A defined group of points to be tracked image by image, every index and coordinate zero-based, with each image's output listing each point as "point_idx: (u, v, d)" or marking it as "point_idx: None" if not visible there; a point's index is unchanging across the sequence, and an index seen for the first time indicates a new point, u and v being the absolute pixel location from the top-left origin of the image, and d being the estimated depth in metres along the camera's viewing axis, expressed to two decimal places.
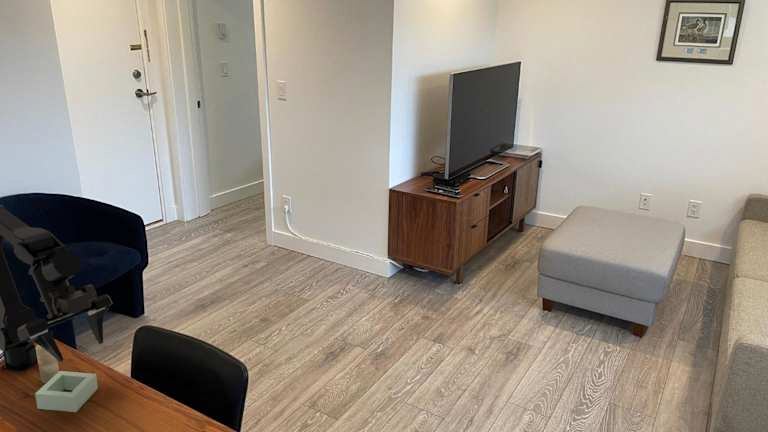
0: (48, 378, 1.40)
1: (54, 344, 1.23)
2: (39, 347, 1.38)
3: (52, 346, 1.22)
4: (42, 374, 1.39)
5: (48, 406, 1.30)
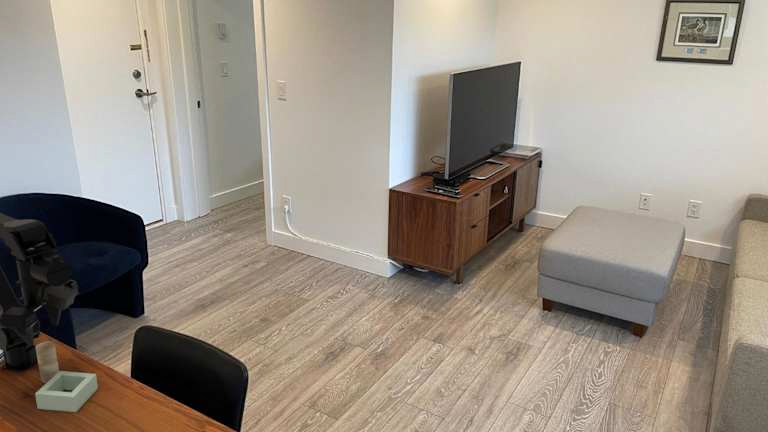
0: (48, 378, 1.40)
1: (31, 331, 1.32)
2: (39, 347, 1.38)
3: (30, 333, 1.32)
4: (42, 374, 1.39)
5: (48, 406, 1.30)
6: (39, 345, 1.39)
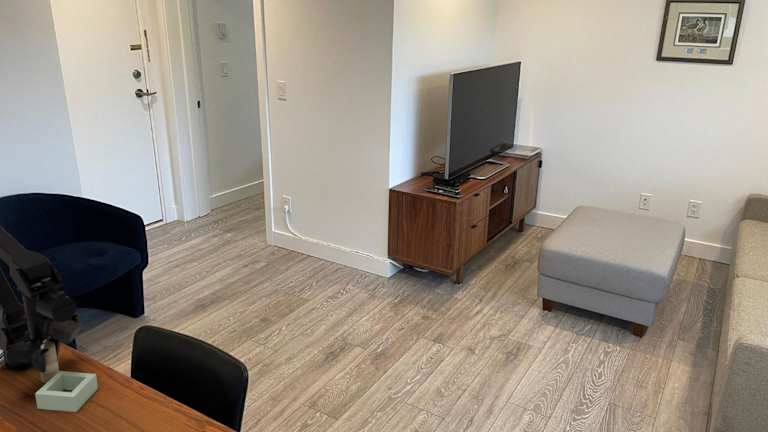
0: (48, 378, 1.40)
1: (44, 359, 1.37)
2: None
3: (42, 361, 1.37)
4: (42, 374, 1.39)
5: (48, 406, 1.30)
6: None
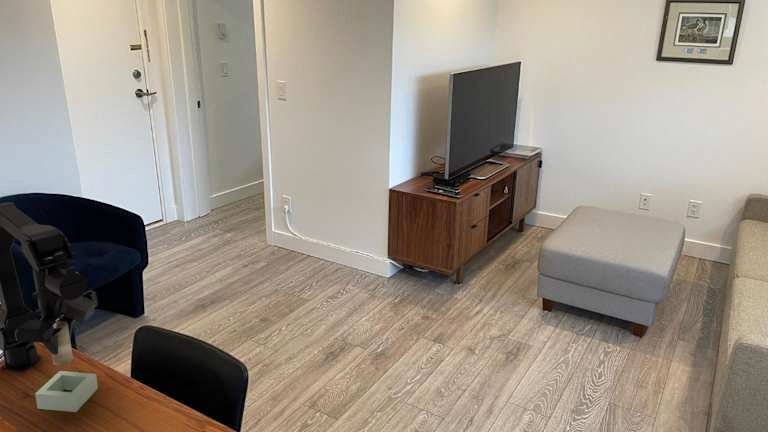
0: (61, 360, 1.30)
1: (56, 340, 1.27)
2: None
3: (55, 342, 1.26)
4: (54, 356, 1.29)
5: (48, 406, 1.30)
6: None
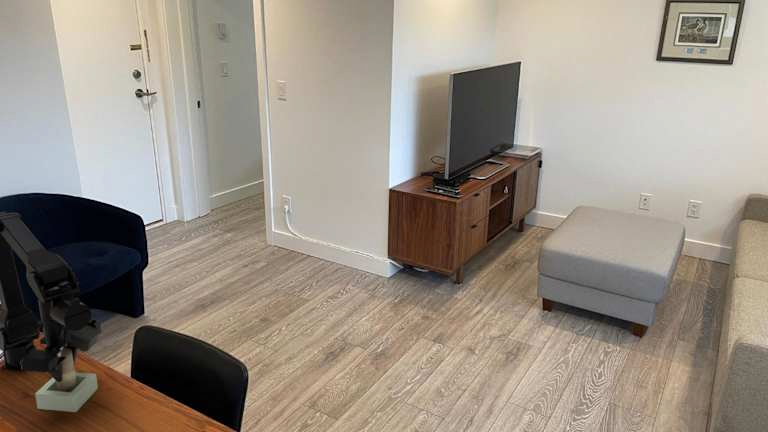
0: (65, 387, 1.32)
1: (60, 368, 1.29)
2: None
3: (59, 370, 1.29)
4: (59, 383, 1.31)
5: (48, 406, 1.30)
6: None
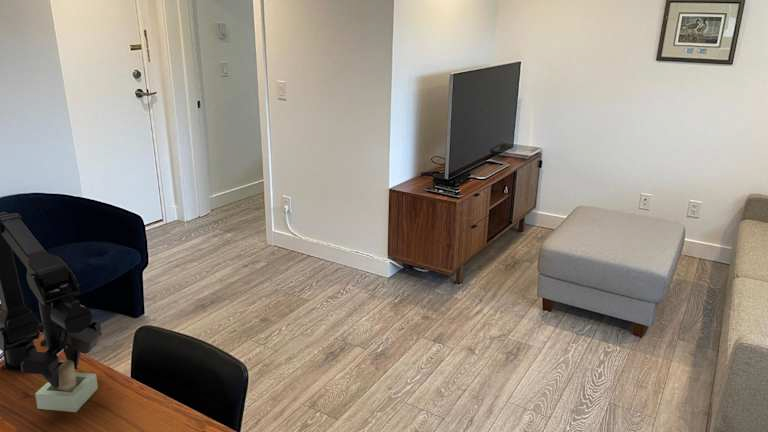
0: None
1: (57, 373, 1.28)
2: None
3: (56, 375, 1.28)
4: None
5: (48, 406, 1.30)
6: None
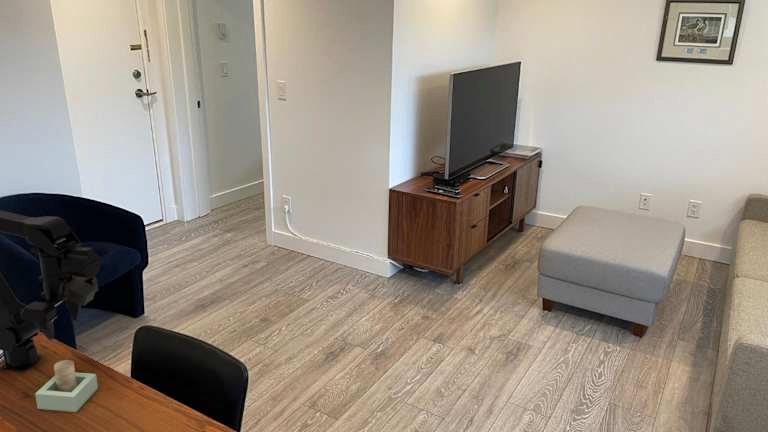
0: None
1: (52, 326, 1.35)
2: (57, 366, 1.31)
3: (50, 328, 1.35)
4: None
5: (48, 406, 1.30)
6: (57, 364, 1.32)
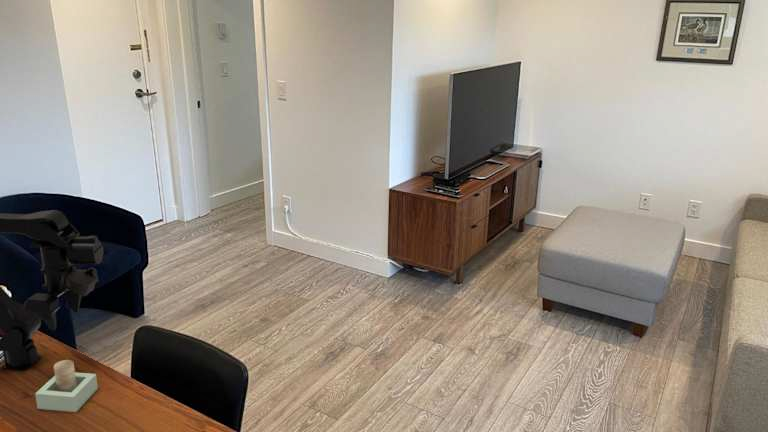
0: None
1: (55, 316, 1.39)
2: (57, 366, 1.31)
3: (53, 318, 1.38)
4: None
5: (48, 406, 1.30)
6: (57, 364, 1.32)
